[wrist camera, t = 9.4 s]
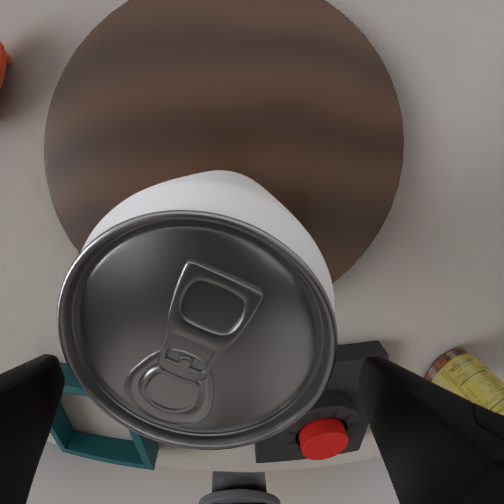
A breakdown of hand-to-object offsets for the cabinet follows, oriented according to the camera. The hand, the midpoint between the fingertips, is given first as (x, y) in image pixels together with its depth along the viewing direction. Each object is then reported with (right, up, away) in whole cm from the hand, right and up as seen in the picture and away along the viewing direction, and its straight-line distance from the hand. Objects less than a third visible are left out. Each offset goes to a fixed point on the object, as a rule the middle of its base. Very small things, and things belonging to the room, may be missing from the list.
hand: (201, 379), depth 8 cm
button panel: (+7, -10, +16) cm, 20 cm away
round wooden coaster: (-1, +10, +10) cm, 15 cm away
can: (0, +5, +9) cm, 11 cm away
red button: (+7, -11, +13) cm, 18 cm away
